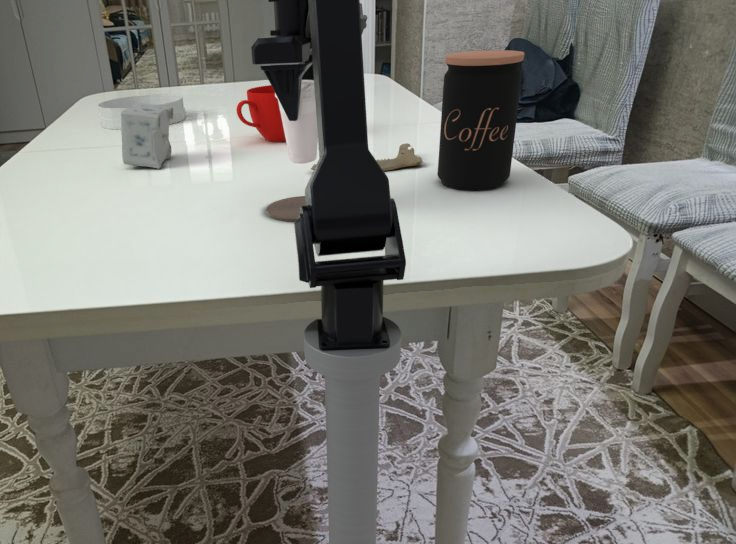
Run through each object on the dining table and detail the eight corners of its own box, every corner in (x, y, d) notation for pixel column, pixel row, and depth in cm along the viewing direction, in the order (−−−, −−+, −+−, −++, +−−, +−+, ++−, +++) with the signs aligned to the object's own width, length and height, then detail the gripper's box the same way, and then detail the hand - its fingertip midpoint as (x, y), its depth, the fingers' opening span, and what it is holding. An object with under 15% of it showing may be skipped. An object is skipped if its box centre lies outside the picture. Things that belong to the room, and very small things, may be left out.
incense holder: (165, 169, 118) (157, 110, 113) (123, 170, 119) (112, 112, 114) (180, 156, 126) (172, 101, 121) (140, 157, 128) (131, 103, 123)
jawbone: (438, 166, 109) (439, 154, 108) (334, 188, 102) (334, 175, 101) (407, 152, 116) (408, 141, 115) (308, 172, 109) (308, 160, 108)
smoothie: (320, 148, 91) (315, 42, 83) (331, 163, 86) (326, 51, 78) (276, 154, 91) (267, 48, 82) (284, 169, 86) (275, 58, 77)
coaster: (345, 219, 86) (345, 216, 86) (265, 223, 87) (264, 221, 87) (340, 196, 96) (340, 194, 96) (268, 200, 96) (267, 197, 96)
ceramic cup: (223, 143, 135) (218, 93, 130) (285, 130, 143) (283, 82, 139) (259, 152, 126) (255, 98, 121) (323, 137, 134) (322, 86, 129)
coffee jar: (428, 188, 96) (436, 59, 87) (446, 171, 104) (455, 50, 95) (501, 194, 92) (517, 57, 83) (515, 175, 100) (530, 49, 91)
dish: (91, 121, 171) (87, 102, 168) (169, 110, 179) (166, 91, 177) (114, 133, 153) (110, 111, 151) (198, 120, 162) (196, 99, 159)
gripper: (342, -24, 67) (344, 129, 75) (376, -24, 82) (374, 103, 90) (244, -17, 71) (255, 129, 78) (294, -18, 86) (299, 104, 93)
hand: (301, 115), depth 85 cm, fingers closed on smoothie, 7 cm apart
